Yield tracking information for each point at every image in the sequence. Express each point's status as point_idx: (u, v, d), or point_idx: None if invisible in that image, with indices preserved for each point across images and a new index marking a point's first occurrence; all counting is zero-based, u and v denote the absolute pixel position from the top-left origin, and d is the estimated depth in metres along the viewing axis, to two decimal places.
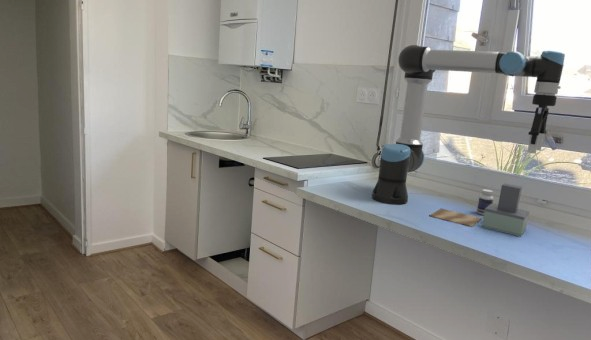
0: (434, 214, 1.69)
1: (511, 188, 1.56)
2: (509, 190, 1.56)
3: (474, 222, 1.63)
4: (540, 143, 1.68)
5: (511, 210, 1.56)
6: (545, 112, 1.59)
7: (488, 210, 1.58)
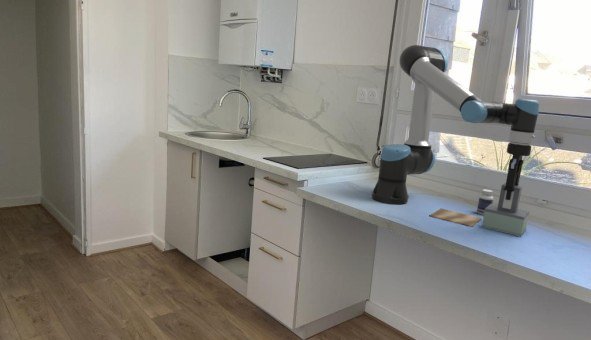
0: (434, 214, 1.69)
1: None
2: None
3: (474, 222, 1.63)
4: None
5: (511, 210, 1.56)
6: (519, 163, 1.53)
7: (488, 210, 1.58)
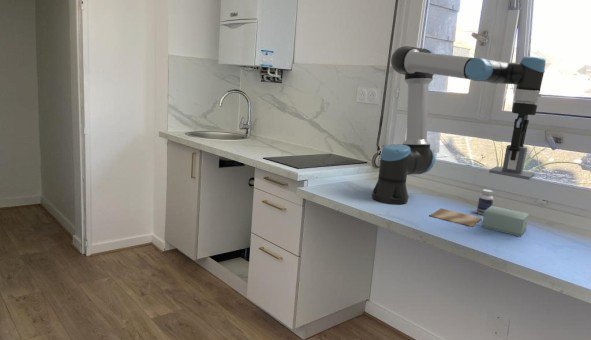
0: (434, 214, 1.69)
1: None
2: None
3: (474, 222, 1.63)
4: None
5: (516, 171, 1.54)
6: (525, 122, 1.51)
7: (493, 171, 1.55)
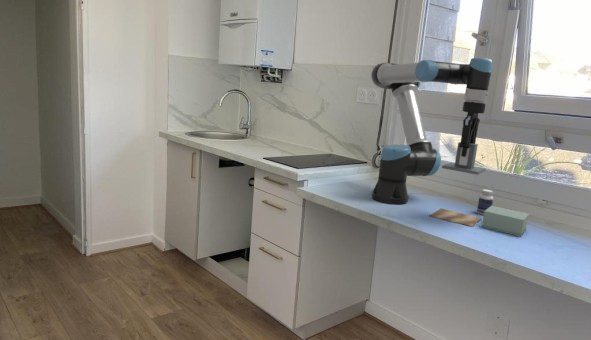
0: (434, 214, 1.69)
1: None
2: None
3: (474, 222, 1.63)
4: None
5: (467, 166, 1.62)
6: (474, 120, 1.59)
7: (445, 167, 1.63)
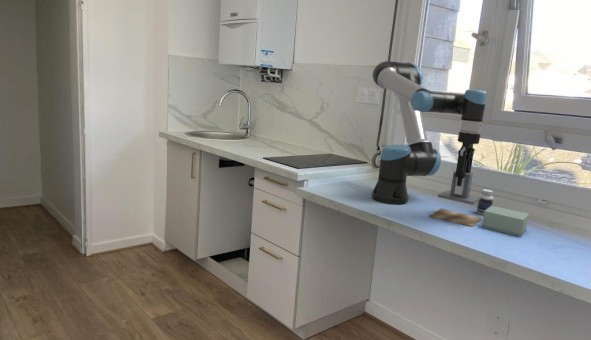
0: (434, 214, 1.69)
1: None
2: None
3: (474, 222, 1.63)
4: None
5: (462, 196, 1.64)
6: (469, 151, 1.61)
7: (441, 196, 1.65)
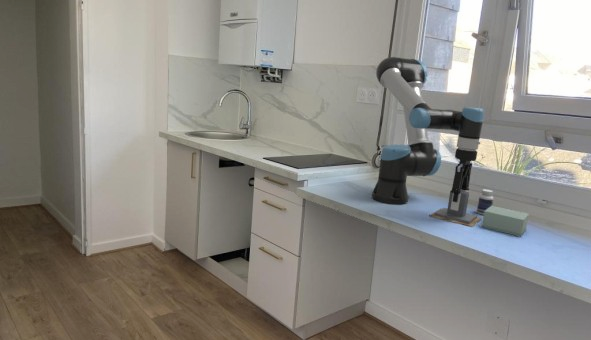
0: (434, 214, 1.69)
1: None
2: None
3: (474, 222, 1.63)
4: None
5: (459, 214, 1.66)
6: (466, 167, 1.62)
7: (437, 214, 1.67)
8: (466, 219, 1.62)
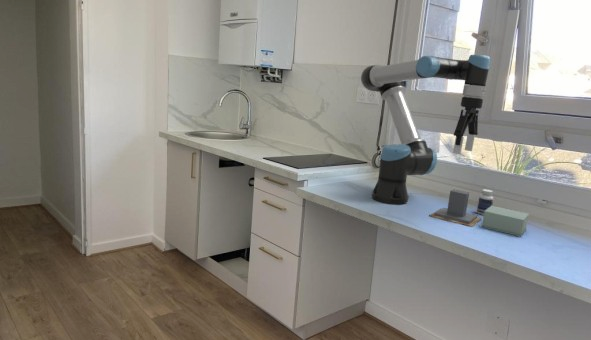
0: (434, 214, 1.69)
1: (458, 194, 1.65)
2: (457, 196, 1.65)
3: (474, 222, 1.63)
4: (471, 144, 1.74)
5: (459, 214, 1.66)
6: (471, 114, 1.64)
7: (437, 214, 1.67)
8: (466, 219, 1.62)
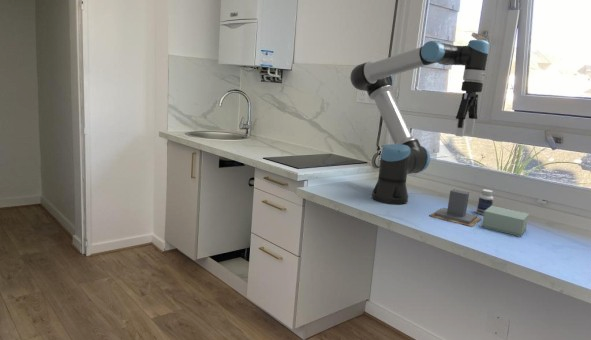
0: (434, 214, 1.69)
1: (458, 194, 1.65)
2: (457, 196, 1.65)
3: (474, 222, 1.63)
4: (471, 128, 1.79)
5: (459, 214, 1.66)
6: (472, 98, 1.69)
7: (437, 214, 1.67)
8: (466, 219, 1.62)
